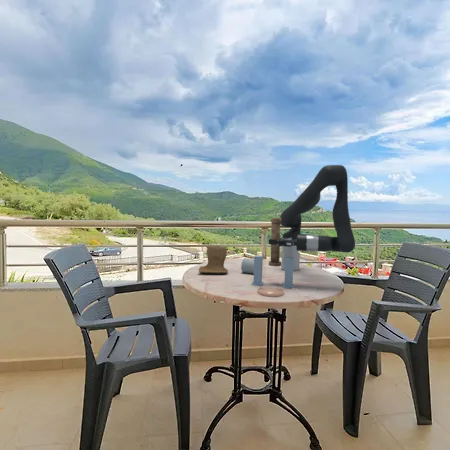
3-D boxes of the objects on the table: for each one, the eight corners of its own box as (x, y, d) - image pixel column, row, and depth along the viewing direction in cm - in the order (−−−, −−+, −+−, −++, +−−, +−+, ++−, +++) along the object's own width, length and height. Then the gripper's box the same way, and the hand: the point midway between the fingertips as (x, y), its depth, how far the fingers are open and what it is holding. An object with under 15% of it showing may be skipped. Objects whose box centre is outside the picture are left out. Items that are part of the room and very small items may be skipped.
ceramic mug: (255, 275, 167) (256, 260, 167) (240, 273, 171) (241, 259, 170) (261, 271, 177) (262, 257, 177) (247, 270, 180) (248, 256, 180)
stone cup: (227, 270, 177) (227, 243, 176) (228, 275, 165) (229, 246, 164) (199, 270, 177) (199, 242, 176) (198, 275, 165) (199, 245, 164)
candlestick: (276, 263, 155) (277, 217, 153) (283, 265, 149) (285, 218, 148) (266, 264, 152) (267, 217, 150) (273, 266, 147) (274, 218, 145)
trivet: (273, 288, 143) (273, 285, 143) (289, 294, 134) (289, 292, 133) (252, 290, 138) (252, 288, 138) (267, 297, 129) (267, 295, 128)
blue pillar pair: (294, 285, 149) (295, 257, 148) (294, 288, 144) (295, 259, 143) (253, 282, 153) (253, 254, 152) (251, 284, 148) (252, 256, 147)
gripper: (307, 233, 153) (270, 231, 157) (308, 236, 140) (268, 234, 143) (306, 248, 154) (270, 247, 158) (307, 253, 140) (267, 251, 144)
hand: (269, 241), depth 150 cm, fingers closed on candlestick, 4 cm apart
